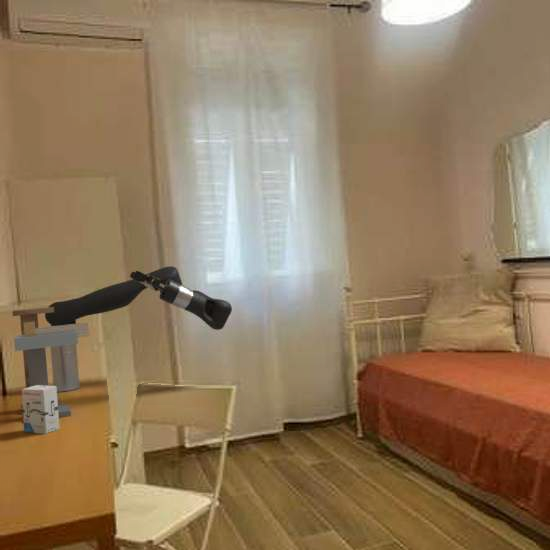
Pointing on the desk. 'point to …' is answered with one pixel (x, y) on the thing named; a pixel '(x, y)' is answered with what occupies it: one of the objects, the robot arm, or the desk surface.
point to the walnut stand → (25, 316)
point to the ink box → (40, 409)
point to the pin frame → (43, 358)
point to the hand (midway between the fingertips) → (132, 273)
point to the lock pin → (55, 329)
